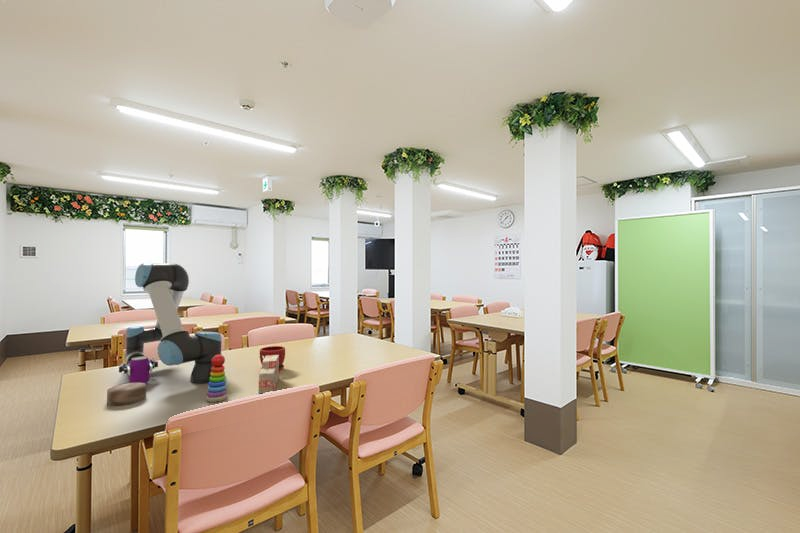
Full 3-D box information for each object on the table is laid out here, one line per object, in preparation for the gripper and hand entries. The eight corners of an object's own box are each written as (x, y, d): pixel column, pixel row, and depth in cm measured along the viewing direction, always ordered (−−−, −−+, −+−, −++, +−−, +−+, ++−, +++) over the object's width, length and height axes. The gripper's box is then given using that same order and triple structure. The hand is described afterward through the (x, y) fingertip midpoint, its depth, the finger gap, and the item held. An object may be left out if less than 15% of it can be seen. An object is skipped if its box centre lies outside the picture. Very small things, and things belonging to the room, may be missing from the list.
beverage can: (134, 381, 170) (134, 356, 170) (152, 380, 172) (152, 355, 172) (125, 386, 163) (125, 360, 163) (144, 385, 164) (144, 359, 164)
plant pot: (289, 367, 199) (289, 345, 199) (277, 374, 186) (277, 351, 186) (267, 365, 201) (268, 344, 201) (254, 372, 188) (254, 350, 188)
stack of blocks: (273, 393, 158) (273, 366, 158) (258, 394, 157) (258, 366, 157) (278, 378, 179) (279, 354, 179) (265, 379, 178) (265, 354, 178)
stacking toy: (218, 403, 146) (219, 357, 146) (201, 401, 148) (202, 356, 148) (231, 396, 154) (231, 353, 154) (215, 395, 155) (215, 352, 155)
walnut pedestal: (153, 394, 155) (153, 383, 155) (128, 406, 142) (128, 393, 142) (125, 393, 156) (125, 381, 156) (98, 404, 143) (98, 392, 143)
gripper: (160, 364, 188) (166, 374, 170) (110, 371, 174) (111, 383, 157) (160, 350, 188) (167, 359, 170) (110, 356, 174) (111, 366, 157)
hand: (140, 370), depth 164 cm, fingers closed on beverage can, 8 cm apart
